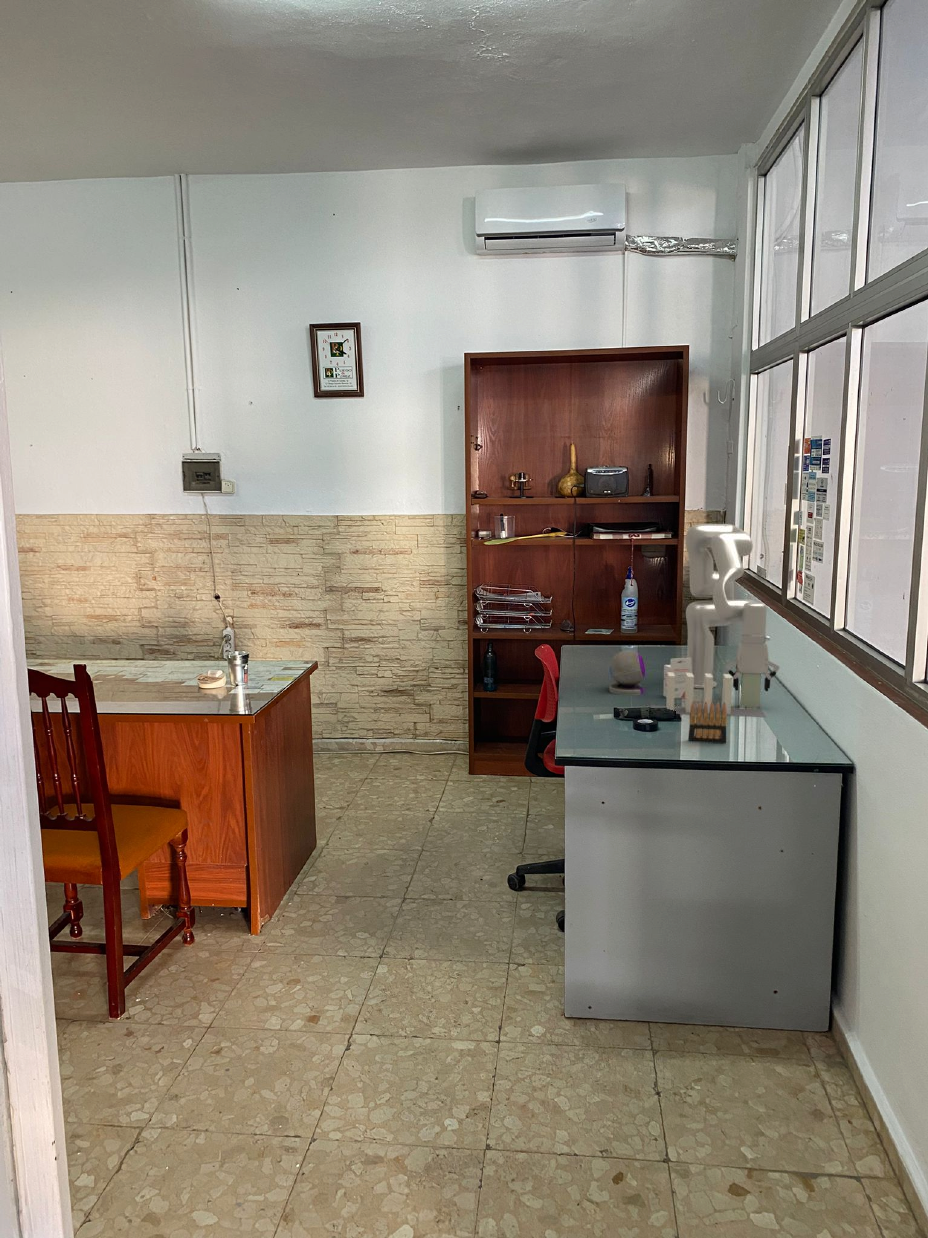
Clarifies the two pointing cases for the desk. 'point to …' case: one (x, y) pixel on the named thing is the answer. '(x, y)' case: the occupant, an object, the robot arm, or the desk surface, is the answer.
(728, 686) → the cream domino
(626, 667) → the webcam
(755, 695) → the sage domino
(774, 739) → the desk surface
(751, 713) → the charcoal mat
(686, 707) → the cream domino
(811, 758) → the desk surface
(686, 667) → the ink cartridge box
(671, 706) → the cream domino
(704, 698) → the cream domino
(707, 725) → the ammunition clip
